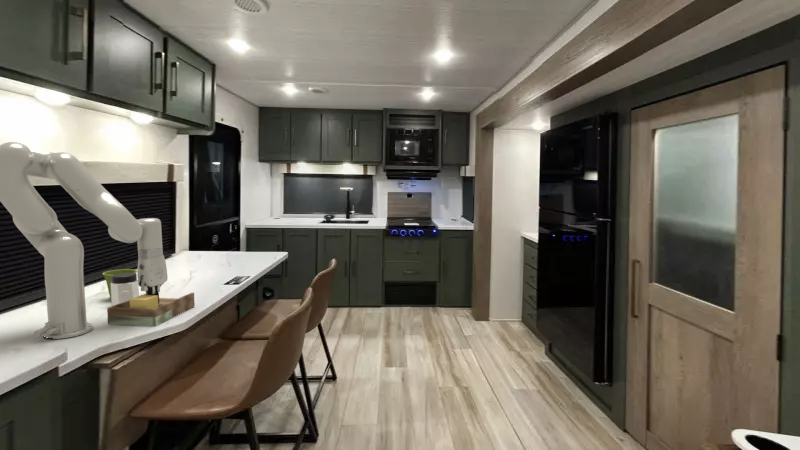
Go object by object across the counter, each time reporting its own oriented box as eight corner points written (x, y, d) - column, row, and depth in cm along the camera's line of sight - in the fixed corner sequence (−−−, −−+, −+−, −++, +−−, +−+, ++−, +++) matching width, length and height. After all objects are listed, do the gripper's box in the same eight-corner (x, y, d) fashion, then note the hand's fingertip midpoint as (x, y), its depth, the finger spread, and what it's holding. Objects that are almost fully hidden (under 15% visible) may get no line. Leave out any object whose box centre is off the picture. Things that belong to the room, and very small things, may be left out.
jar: (111, 309, 160) (109, 278, 159) (111, 304, 167) (110, 274, 165) (139, 306, 165) (138, 275, 164) (138, 301, 172) (137, 271, 170)
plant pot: (122, 304, 168) (121, 275, 167) (96, 302, 170) (94, 274, 169) (145, 296, 179) (144, 269, 178) (120, 294, 181) (119, 268, 180)
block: (147, 314, 145) (146, 300, 144) (130, 313, 145) (129, 299, 145) (158, 309, 151) (157, 295, 150) (142, 308, 151) (141, 294, 151)
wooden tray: (155, 326, 142) (155, 309, 142) (108, 324, 144) (107, 308, 143) (194, 306, 165) (194, 292, 164) (152, 305, 166) (152, 291, 166)
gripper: (146, 257, 144) (149, 310, 146) (173, 250, 159) (176, 298, 161) (125, 256, 145) (128, 310, 147) (154, 249, 159) (157, 298, 161)
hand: (153, 303), depth 154 cm, fingers closed
